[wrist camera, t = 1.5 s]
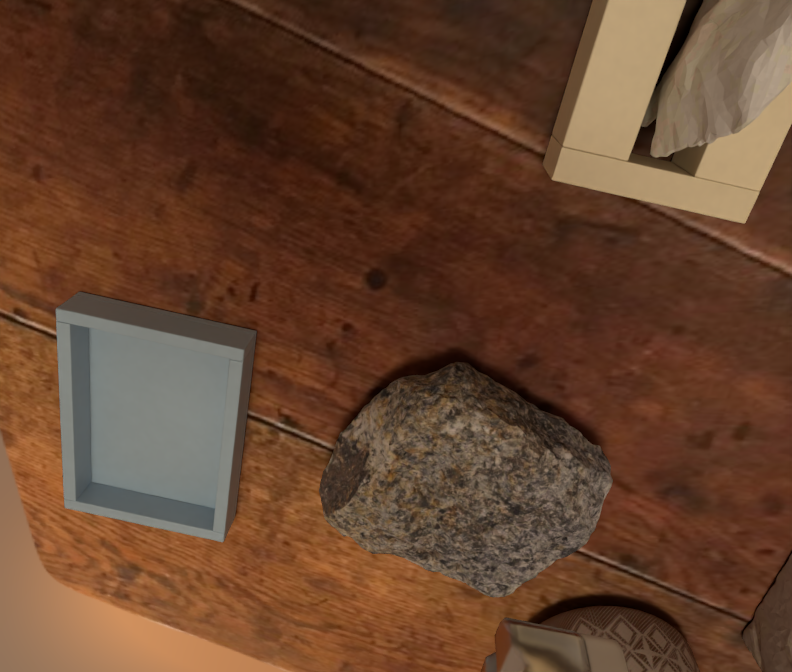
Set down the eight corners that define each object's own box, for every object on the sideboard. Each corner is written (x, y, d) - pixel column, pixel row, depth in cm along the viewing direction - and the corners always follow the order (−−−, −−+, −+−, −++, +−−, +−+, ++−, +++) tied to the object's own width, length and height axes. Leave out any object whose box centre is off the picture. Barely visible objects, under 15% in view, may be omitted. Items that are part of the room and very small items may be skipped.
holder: (542, 164, 32) (551, 180, 29) (629, -123, 26) (652, -142, 23) (716, 204, 32) (745, 224, 29) (839, -73, 26) (890, -87, 23)
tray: (235, 516, 44) (223, 543, 41) (84, 483, 44) (64, 508, 41) (257, 330, 37) (244, 350, 35) (79, 291, 37) (55, 308, 35)
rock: (624, 445, 39) (420, 311, 36) (653, 515, 33) (413, 361, 30) (497, 570, 43) (311, 459, 41) (503, 650, 38) (286, 526, 35)
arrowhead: (656, 151, 31) (738, 203, 22) (612, 135, 31) (676, 180, 22) (750, -32, 27) (893, -59, 18) (700, -52, 27) (821, -89, 18)
